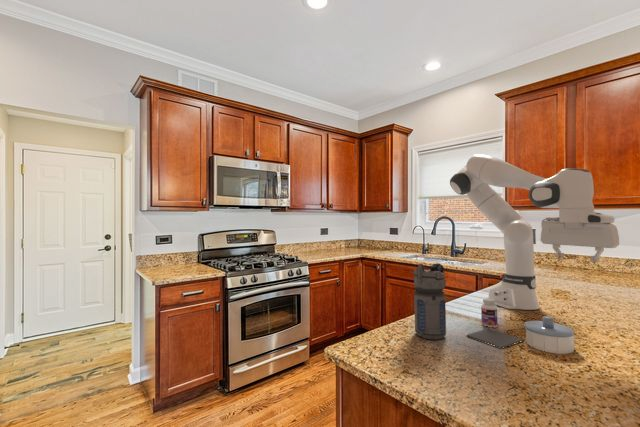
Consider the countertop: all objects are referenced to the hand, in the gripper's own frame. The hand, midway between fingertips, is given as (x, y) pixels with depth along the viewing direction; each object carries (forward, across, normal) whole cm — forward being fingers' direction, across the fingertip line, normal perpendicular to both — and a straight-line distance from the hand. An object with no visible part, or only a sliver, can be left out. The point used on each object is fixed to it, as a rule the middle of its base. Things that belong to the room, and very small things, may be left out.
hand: (577, 259), depth 102 cm
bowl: (+26, -2, -12) cm, 29 cm away
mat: (+26, -14, -21) cm, 37 cm away
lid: (+21, -3, -12) cm, 25 cm away
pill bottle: (+27, -24, -10) cm, 37 cm away
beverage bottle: (+27, -28, -36) cm, 53 cm away
